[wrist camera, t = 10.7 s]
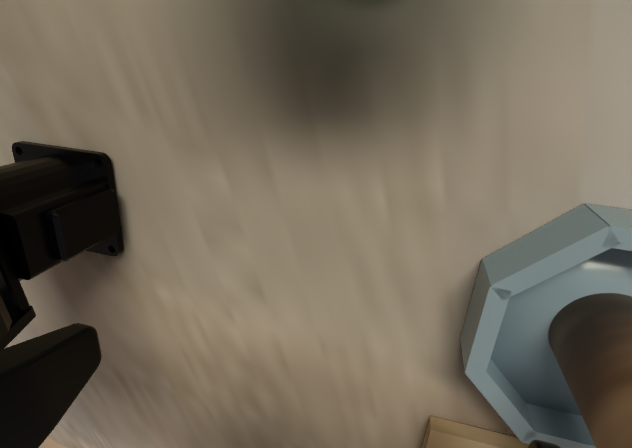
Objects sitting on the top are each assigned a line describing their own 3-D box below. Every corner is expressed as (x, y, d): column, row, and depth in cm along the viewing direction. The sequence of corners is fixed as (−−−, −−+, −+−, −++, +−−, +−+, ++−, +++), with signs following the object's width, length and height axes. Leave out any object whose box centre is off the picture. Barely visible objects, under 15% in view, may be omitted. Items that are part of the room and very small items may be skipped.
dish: (446, 387, 23) (449, 424, 20) (499, 192, 18) (511, 211, 16) (684, 442, 20) (718, 491, 18) (817, 234, 16) (887, 265, 13)
